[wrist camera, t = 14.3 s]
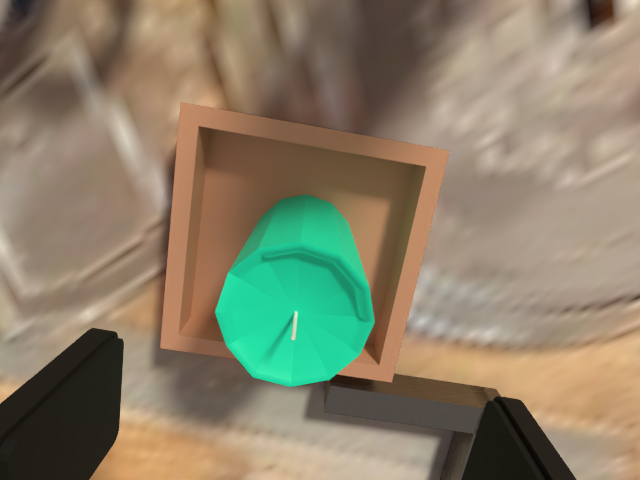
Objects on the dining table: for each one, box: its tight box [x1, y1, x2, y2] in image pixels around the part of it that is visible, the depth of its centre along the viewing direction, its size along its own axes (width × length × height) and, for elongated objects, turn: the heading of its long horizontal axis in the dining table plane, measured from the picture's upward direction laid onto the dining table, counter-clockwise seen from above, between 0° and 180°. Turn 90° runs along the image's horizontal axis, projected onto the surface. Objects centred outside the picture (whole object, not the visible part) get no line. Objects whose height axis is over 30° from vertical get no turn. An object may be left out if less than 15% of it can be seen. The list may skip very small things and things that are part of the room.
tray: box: [160, 102, 449, 382], centre depth 25 cm, size 14×14×4 cm
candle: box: [215, 194, 375, 387], centre depth 20 cm, size 6×6×12 cm
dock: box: [324, 374, 501, 480], centre depth 30 cm, size 12×13×2 cm
